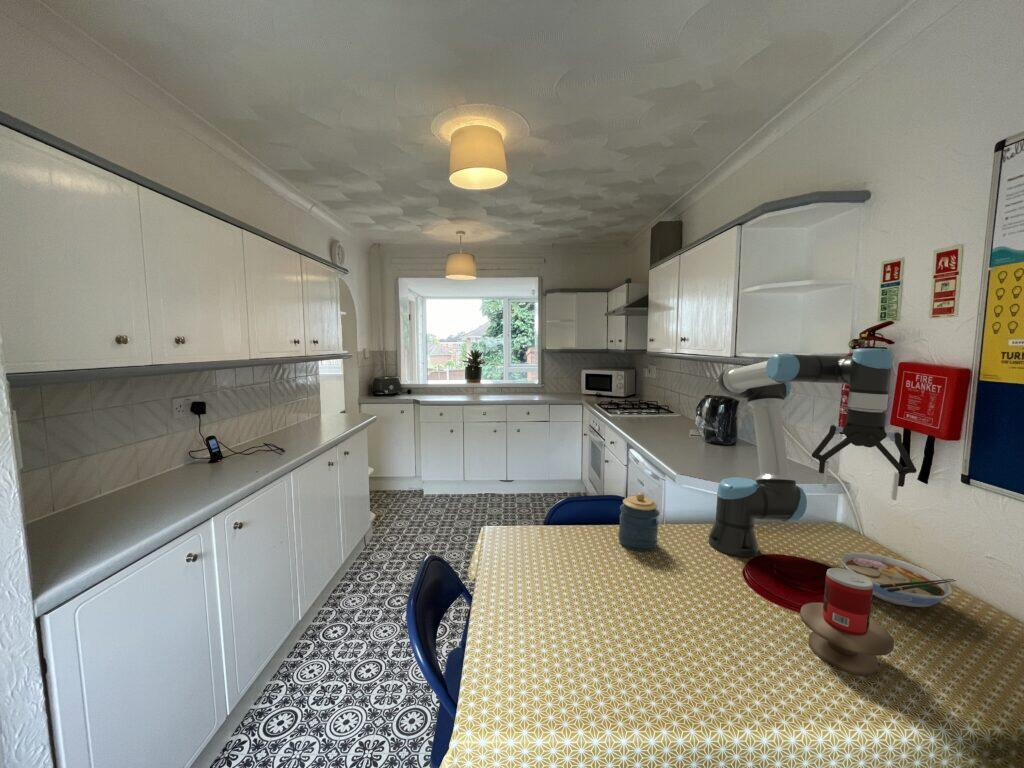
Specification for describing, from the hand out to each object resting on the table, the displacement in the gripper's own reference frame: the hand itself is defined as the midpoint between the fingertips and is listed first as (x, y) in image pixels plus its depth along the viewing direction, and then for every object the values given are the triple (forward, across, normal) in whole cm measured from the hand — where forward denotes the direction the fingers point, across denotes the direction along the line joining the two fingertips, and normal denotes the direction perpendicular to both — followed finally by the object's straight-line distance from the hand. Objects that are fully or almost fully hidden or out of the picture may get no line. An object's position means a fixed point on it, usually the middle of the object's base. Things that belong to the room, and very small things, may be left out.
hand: (857, 492), depth 106 cm
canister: (+32, +56, 0) cm, 64 cm away
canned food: (+25, +1, +22) cm, 33 cm away
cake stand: (+32, +1, +22) cm, 39 cm away
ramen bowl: (+32, -10, -16) cm, 37 cm away
